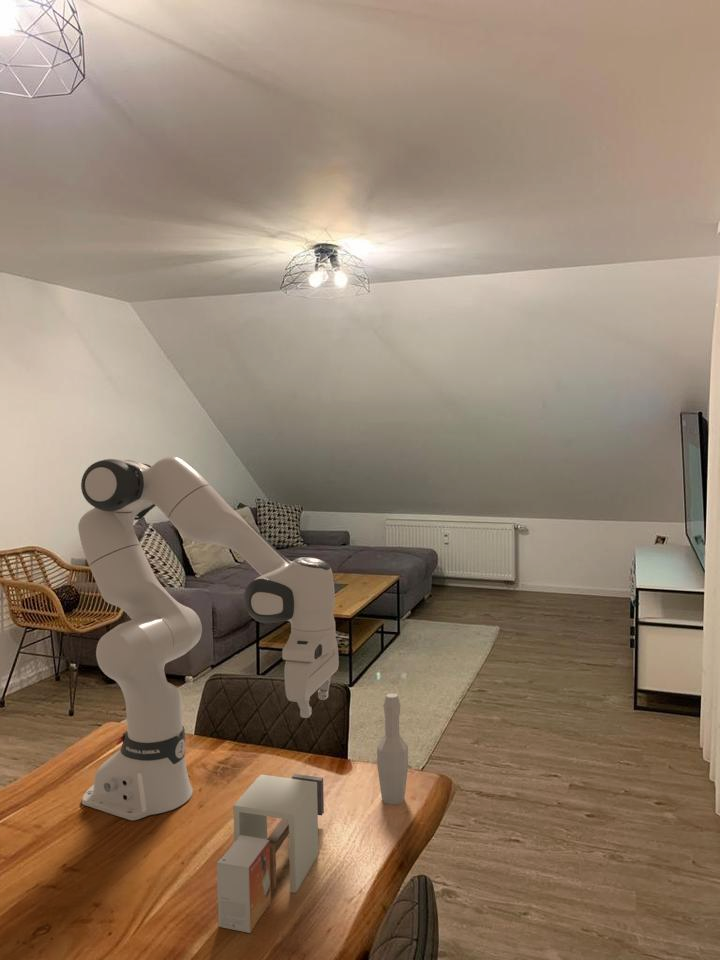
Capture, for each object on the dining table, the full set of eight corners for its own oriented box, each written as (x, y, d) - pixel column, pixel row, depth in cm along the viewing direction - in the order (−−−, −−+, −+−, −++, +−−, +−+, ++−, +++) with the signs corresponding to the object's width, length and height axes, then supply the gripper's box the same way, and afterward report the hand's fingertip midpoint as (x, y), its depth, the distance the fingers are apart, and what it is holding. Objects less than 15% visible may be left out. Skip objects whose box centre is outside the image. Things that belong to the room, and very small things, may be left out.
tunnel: (235, 881, 119) (233, 805, 118) (262, 845, 129) (260, 774, 128) (295, 893, 115) (294, 814, 115) (318, 854, 126) (317, 782, 125)
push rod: (241, 883, 115) (240, 842, 115) (295, 808, 138) (294, 773, 137) (275, 889, 113) (274, 847, 113) (323, 812, 136) (323, 777, 136)
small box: (250, 935, 106) (248, 868, 105) (217, 927, 108) (215, 862, 107) (272, 901, 114) (270, 838, 113) (241, 894, 115) (239, 833, 115)
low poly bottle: (377, 791, 148) (376, 689, 146) (407, 791, 148) (406, 689, 146) (377, 807, 142) (376, 701, 140) (409, 807, 141) (407, 701, 140)
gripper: (317, 624, 150) (318, 687, 151) (278, 653, 130) (279, 725, 131) (345, 626, 148) (346, 690, 149) (309, 656, 128) (310, 729, 129)
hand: (314, 707), depth 140 cm, fingers open, 8 cm apart
